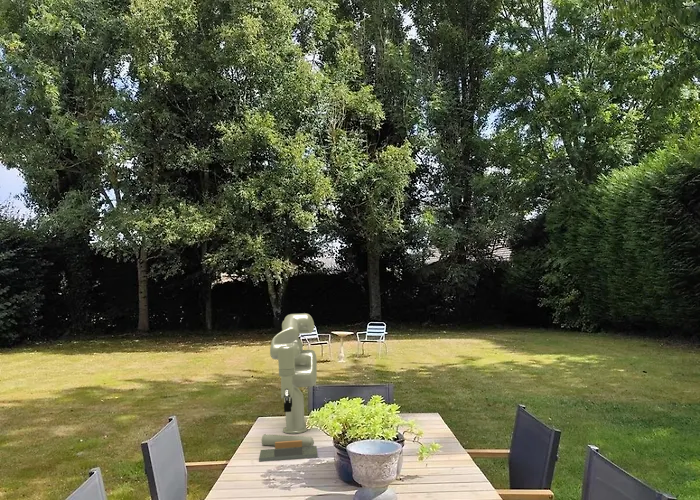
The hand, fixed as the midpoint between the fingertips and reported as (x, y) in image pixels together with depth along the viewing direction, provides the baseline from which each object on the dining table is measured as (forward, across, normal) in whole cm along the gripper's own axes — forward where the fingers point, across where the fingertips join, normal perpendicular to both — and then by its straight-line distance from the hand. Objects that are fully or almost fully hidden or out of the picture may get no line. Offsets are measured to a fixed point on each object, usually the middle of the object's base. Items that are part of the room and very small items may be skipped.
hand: (288, 409), depth 263 cm
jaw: (+15, +9, 0) cm, 18 cm away
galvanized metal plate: (+17, +14, 0) cm, 22 cm away
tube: (+18, -1, 0) cm, 18 cm away
